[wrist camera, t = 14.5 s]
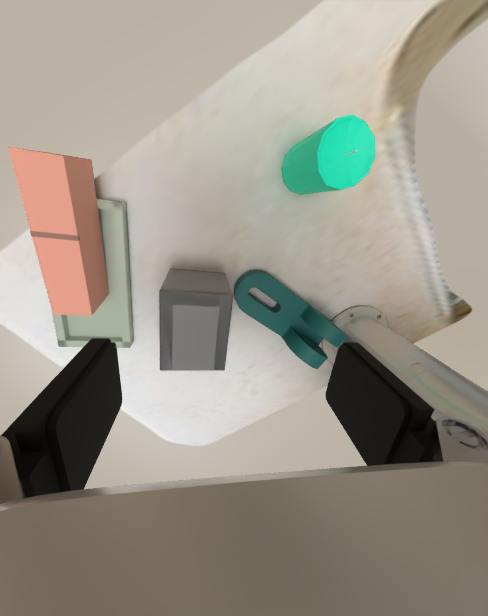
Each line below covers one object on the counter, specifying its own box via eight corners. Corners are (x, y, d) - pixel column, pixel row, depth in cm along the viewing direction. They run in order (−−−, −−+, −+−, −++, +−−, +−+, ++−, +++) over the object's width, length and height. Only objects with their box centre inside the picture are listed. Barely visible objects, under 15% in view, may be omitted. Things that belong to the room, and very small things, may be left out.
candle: (274, 158, 31) (314, 132, 20) (314, 133, 30) (379, 92, 19) (292, 202, 33) (337, 201, 22) (330, 179, 33) (394, 166, 22)
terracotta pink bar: (91, 159, 25) (63, 155, 20) (109, 293, 33) (92, 316, 28) (48, 152, 25) (7, 146, 19) (76, 291, 32) (52, 314, 27)
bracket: (329, 319, 42) (355, 342, 35) (304, 347, 44) (325, 375, 36) (251, 261, 36) (264, 274, 28) (225, 296, 37) (231, 317, 30)
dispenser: (218, 336, 39) (223, 375, 30) (169, 335, 38) (159, 375, 29) (224, 273, 35) (233, 296, 26) (170, 268, 34) (159, 291, 25)
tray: (126, 202, 30) (121, 202, 28) (133, 340, 37) (130, 347, 35) (40, 190, 28) (28, 189, 26) (65, 339, 35) (58, 346, 33)
